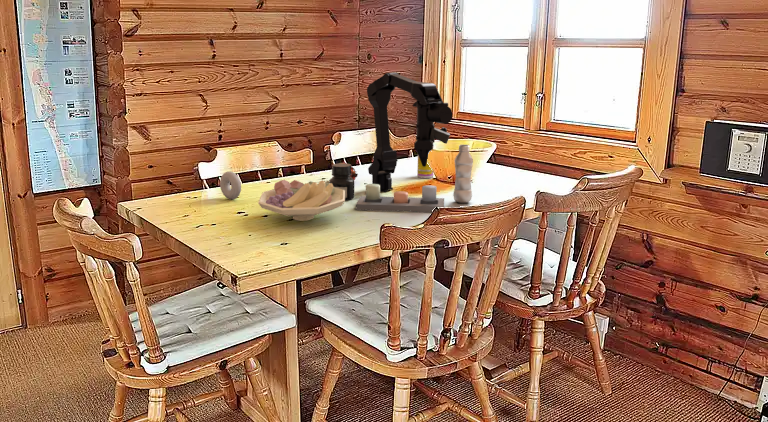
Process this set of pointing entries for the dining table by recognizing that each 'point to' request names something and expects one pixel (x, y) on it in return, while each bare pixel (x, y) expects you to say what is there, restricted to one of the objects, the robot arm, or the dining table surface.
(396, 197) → the terracotta button
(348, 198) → the ink bottle
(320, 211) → the dish with food
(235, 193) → the donut
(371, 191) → the sage button
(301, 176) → the dining table surface
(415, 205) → the button panel
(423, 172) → the supplement bottle
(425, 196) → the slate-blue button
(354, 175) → the dragon fruit
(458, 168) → the plastic bottle
